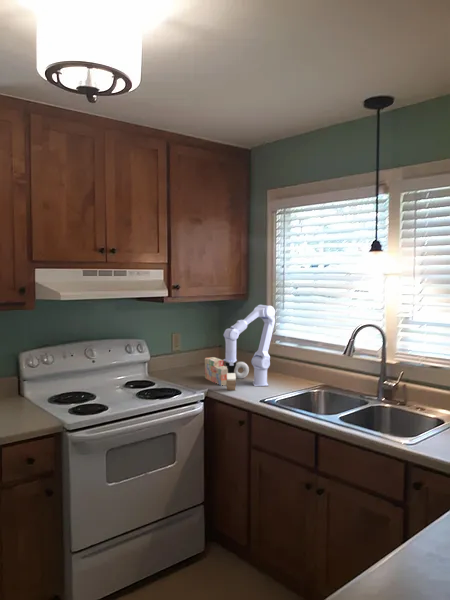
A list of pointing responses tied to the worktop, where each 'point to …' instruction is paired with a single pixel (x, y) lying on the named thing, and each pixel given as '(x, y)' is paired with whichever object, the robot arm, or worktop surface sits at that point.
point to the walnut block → (231, 381)
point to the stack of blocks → (216, 371)
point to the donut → (245, 370)
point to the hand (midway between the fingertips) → (230, 376)
